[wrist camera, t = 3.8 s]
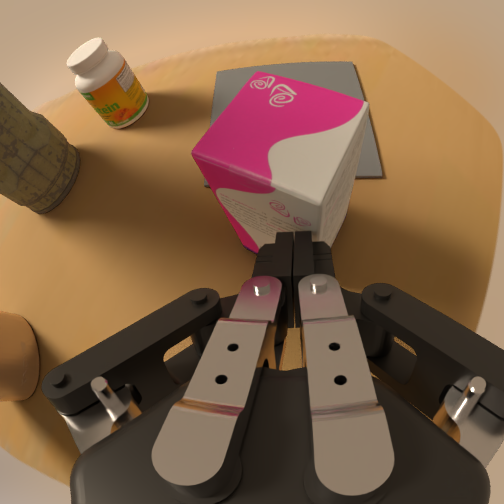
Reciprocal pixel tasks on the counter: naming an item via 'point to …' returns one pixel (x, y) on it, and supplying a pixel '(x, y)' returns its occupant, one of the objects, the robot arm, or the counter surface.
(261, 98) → the supplement box
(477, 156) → the counter surface
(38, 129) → the thermos
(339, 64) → the rubber mat
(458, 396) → the robot arm
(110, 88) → the supplement bottle
